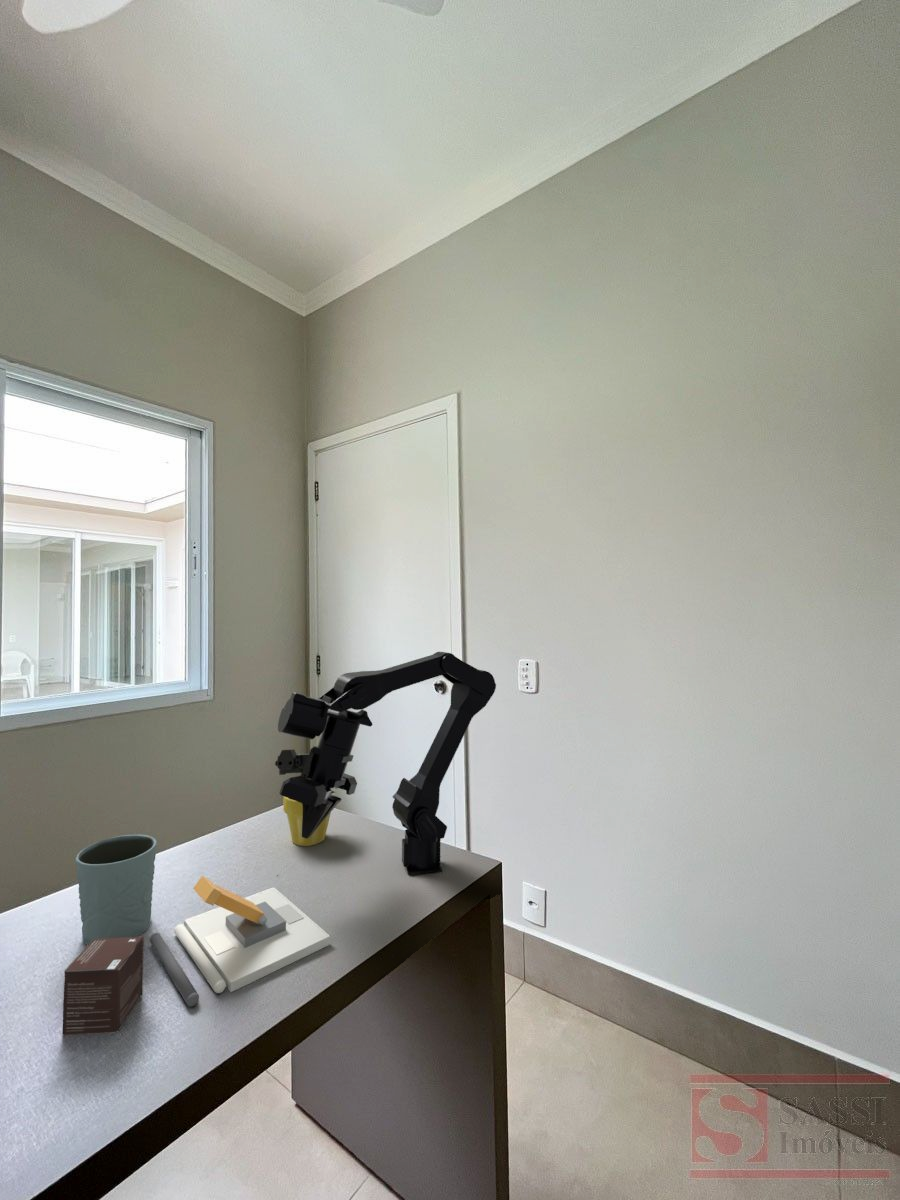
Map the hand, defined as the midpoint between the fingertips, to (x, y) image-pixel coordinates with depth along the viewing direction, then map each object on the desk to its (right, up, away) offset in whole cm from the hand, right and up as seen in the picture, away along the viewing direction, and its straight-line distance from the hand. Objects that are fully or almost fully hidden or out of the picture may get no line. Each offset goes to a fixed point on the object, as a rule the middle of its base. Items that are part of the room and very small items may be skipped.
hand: (305, 837), depth 89 cm
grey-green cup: (-25, -9, -10) cm, 29 cm away
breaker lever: (-4, -6, -11) cm, 13 cm away
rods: (-11, -9, -18) cm, 23 cm away
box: (-16, -9, -26) cm, 32 cm away
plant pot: (-5, -10, +21) cm, 24 cm away
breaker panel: (-4, -9, -11) cm, 15 cm away
